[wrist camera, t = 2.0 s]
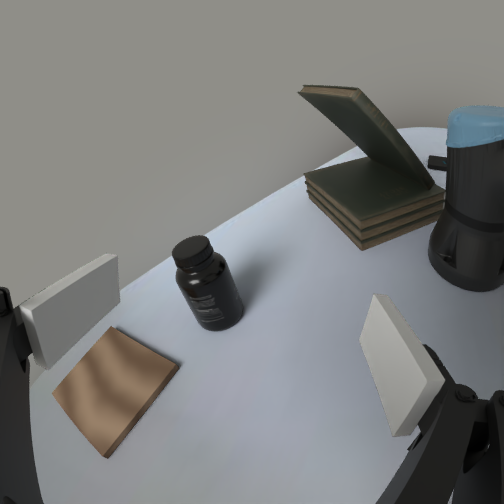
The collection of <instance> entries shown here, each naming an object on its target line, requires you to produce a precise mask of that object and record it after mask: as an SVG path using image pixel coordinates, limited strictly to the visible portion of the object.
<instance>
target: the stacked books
mask: <svg viewBox="0 0 504 504" xmlns="http://www.w3.org/2000/svg"><path fill="white" fill-rule="evenodd" d="M303 86H304V88H303V89H302V90H301V91H300V92H298V94H300V95H301V96H302V97H303V98H305V99H306V100H307V101H308V102H309V103H311V104H312V105H313V106H314V107H315V108H317V109H318V110H319V111H320V112H321V113H322V114H324V115H325V116H326V117H327V118H328V119H329V120H330V121H331V122H333V123H334V124H335V125H336V126H337V127H338V128H339V129H340V130H341V131H343V132H344V133H345V134H346V135H347V136H348V137H349V138H350V139H351V140H352V141H353V142H354V143H355V144H356V145H357V146H358V147H359V148H360V149H361V150H362V151H363V152H364V153H365V154H366V155H367V156H368V157H364V158H360V159H356V160H352V161H348V162H344V163H340V164H337V165H333V166H329V167H325V168H322V169H318V170H314V171H311V172H308V173H304V176H305V178H306V181H305V184H306V185H307V189H308V190H306V191H307V193H308V195H309V199H310V200H311V201H312V202H314V203H315V204H316V205H317V206H318V207H319V208H320V209H321V210H322V211H323V212H324V213H325V214H326V215H327V216H328V217H329V218H330V219H331V220H332V221H333V222H334V223H335V224H336V225H337V226H338V227H339V228H340V229H341V230H342V231H343V232H344V233H345V234H346V235H347V236H348V237H349V238H350V239H351V240H352V241H353V243H354V244H355V245H356V246H357V247H358V248H359V249H360V250H361V251H363V250H366V249H368V248H371V247H373V246H376V245H378V244H381V243H383V242H386V241H388V240H391V239H393V238H396V237H398V236H401V235H403V234H406V233H408V232H411V231H413V230H416V229H418V228H421V227H423V226H425V225H428V224H430V223H433V222H435V221H437V220H438V219H439V217H440V215H441V213H442V211H443V208H444V204H445V193H446V190H444V189H443V188H441V187H439V186H437V185H436V184H435V181H434V180H433V178H432V177H431V175H430V174H429V173H428V171H427V170H426V168H425V167H424V165H423V164H422V163H421V161H420V160H419V158H418V157H417V156H416V154H415V153H414V152H413V150H412V149H411V148H410V146H409V145H408V144H407V143H406V141H405V140H404V139H403V138H402V136H401V135H400V134H399V133H398V131H397V130H396V129H395V128H394V126H393V125H392V124H391V123H390V122H389V121H388V119H387V118H386V117H385V116H384V115H383V114H382V113H381V111H380V110H379V109H378V108H377V107H376V106H375V105H374V104H373V103H372V101H371V100H370V99H369V98H368V97H367V96H366V95H365V94H364V93H363V92H362V91H361V90H360V89H359V88H354V87H341V86H323V85H303Z"/></svg>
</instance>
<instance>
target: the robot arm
mask: <svg viewBox="0 0 504 504" xmlns="http://www.w3.org/2000/svg"><path fill="white" fill-rule="evenodd" d="M446 145H447V177H446V193H445V204H444V208H443V211H442V213H441V215H440V217H439V219H438V221H437V223H436V225H435V227H434V229H433V231H432V233H431V236H430V241H429V248H428V256H429V260H430V262H431V264H432V266H433V267H434V269H435V270H436V271H437V272H438V273H439V275H441V276H442V277H443V278H444V279H445V280H447V281H448V282H450V283H452V284H453V285H456V286H458V287H460V288H463V289H466V290H470V291H478V292H484V291H490V290H494V289H496V288H498V287H500V286H501V285H502V284H503V283H504V108H503V107H496V106H465V107H460V108H457V109H454V110H453V111H452V112H451V113H450V115H449V117H448V132H447V140H446ZM119 303H120V292H119V277H118V256H117V255H113V254H107V253H106V254H104V255H102V256H100V257H98V258H97V259H95V260H93V261H92V262H90V263H88V264H86V265H84V266H83V267H81V268H79V269H78V270H76V271H74V272H72V273H71V274H69V275H67V276H66V277H64V278H62V279H61V280H59V281H57V282H56V283H54V284H52V285H51V286H49V287H47V288H45V289H44V290H42V291H40V292H39V293H38V294H36V295H34V296H32V297H31V298H29V299H28V300H26V301H25V302H23V303H22V304H20V305H19V306H17V307H15V308H14V309H13V305H12V301H11V297H10V292H9V290H8V289H7V288H5V287H0V504H44V503H43V500H42V497H41V493H40V488H39V483H38V478H37V473H36V467H35V461H34V454H33V446H32V436H31V424H30V404H29V373H30V363H29V359H28V356H29V355H30V354H31V353H33V356H34V359H35V362H36V364H37V365H39V366H41V367H43V368H45V369H47V370H50V368H51V367H52V366H53V365H54V364H55V363H56V362H58V361H59V360H60V359H61V358H62V357H63V356H64V355H65V354H66V353H67V352H68V351H69V350H70V349H71V348H72V347H73V346H74V345H75V344H76V343H77V342H78V341H79V340H80V339H81V338H82V337H83V336H84V335H85V334H86V333H87V332H88V331H90V330H91V329H92V328H93V327H94V326H95V325H96V324H97V323H98V322H99V321H100V320H101V319H102V318H103V317H105V316H106V315H107V314H108V313H109V312H110V311H111V310H112V309H113V308H114V307H115V306H117V305H118V304H119ZM359 342H360V344H361V347H362V350H363V352H364V355H365V358H366V360H367V363H368V366H369V368H370V371H371V374H372V376H373V379H374V382H375V385H376V388H377V391H378V393H379V396H380V399H381V402H382V405H383V408H384V411H385V414H386V417H387V420H388V423H389V426H390V429H391V433H392V436H393V437H397V436H407V435H411V433H412V432H413V430H414V429H415V428H416V426H417V425H418V426H419V429H420V431H421V432H420V434H419V435H418V436H417V438H416V439H415V440H414V441H413V443H412V444H411V445H410V447H409V448H408V449H407V450H409V452H408V454H407V456H406V458H405V459H404V461H403V463H402V464H401V466H400V468H399V469H398V471H397V473H396V474H395V476H394V477H393V479H392V480H391V482H390V483H389V485H388V486H387V488H386V489H385V491H384V492H383V494H382V495H381V497H380V498H379V499H378V501H377V502H376V504H447V503H448V501H449V498H450V496H451V494H452V491H453V489H454V492H453V499H452V504H504V391H503V390H498V391H495V393H494V394H493V396H492V397H491V399H490V400H482V399H478V397H477V395H476V393H475V392H474V391H473V390H472V389H471V388H469V387H467V386H465V385H462V384H456V383H455V382H454V380H453V379H452V377H451V375H450V374H449V372H448V371H447V369H446V368H445V366H443V363H442V362H441V360H439V357H438V356H437V355H436V353H435V352H434V351H433V350H432V349H431V348H430V347H428V346H427V345H426V344H422V343H421V342H420V340H419V339H418V337H417V336H416V335H415V333H414V332H413V330H412V329H411V327H410V326H409V324H408V323H407V322H406V320H405V319H404V317H403V316H402V315H401V313H400V312H399V310H398V309H397V308H396V306H395V305H394V304H393V302H392V301H391V300H390V298H389V297H388V296H387V295H382V294H373V298H372V301H371V304H370V308H369V311H368V314H367V317H366V321H365V324H364V327H363V330H362V333H361V336H360V339H359ZM489 444H490V445H489ZM488 445H489V448H488Z"/></svg>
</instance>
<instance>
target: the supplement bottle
mask: <svg viewBox="0 0 504 504" xmlns="http://www.w3.org/2000/svg"><path fill="white" fill-rule="evenodd" d="M172 256H173V258H174V261H175V264H176V266H177V268H178V269H177V271H176V282H177V284H178V286H179V288H180V290H181V292H182V294H183V296H184V298H185V299H186V301H187V303H188V305H189V307H190V309H191V310H192V312H193V314H194V316H195V318H196V319H197V321H198V323H199V324H200V325H201V326H202V327H203V328H204V329H206V330H209V331H222V330H225V329H227V328H229V327H231V326H233V325H234V324H235V323H236V322H237V321H238V320H239V319H240V317H241V315H242V312H243V305H242V301H241V299H240V296H239V293H238V291H237V288H236V286H235V283H234V281H233V278H232V275H231V273H230V270H229V267H228V265H227V262H226V260H225V259H224V257H223V256H222V255H220V254H219V253H216V252H214V250H213V247H212V246H211V244H210V241H209V239H208V238H207V237H205V236H200V235H198V236H192V237H189V238H186V239H185V240H183V241H181V242H180V243H178V244H177V245H176V246H175V248H174V249H173V251H172Z"/></svg>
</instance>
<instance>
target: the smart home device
mask: <svg viewBox="0 0 504 504" xmlns="http://www.w3.org/2000/svg"><path fill="white" fill-rule="evenodd" d="M428 168H429V169H435V170H441V171H447V158H446V157H439V156H431V155H430V156H429V160H428Z"/></svg>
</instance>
